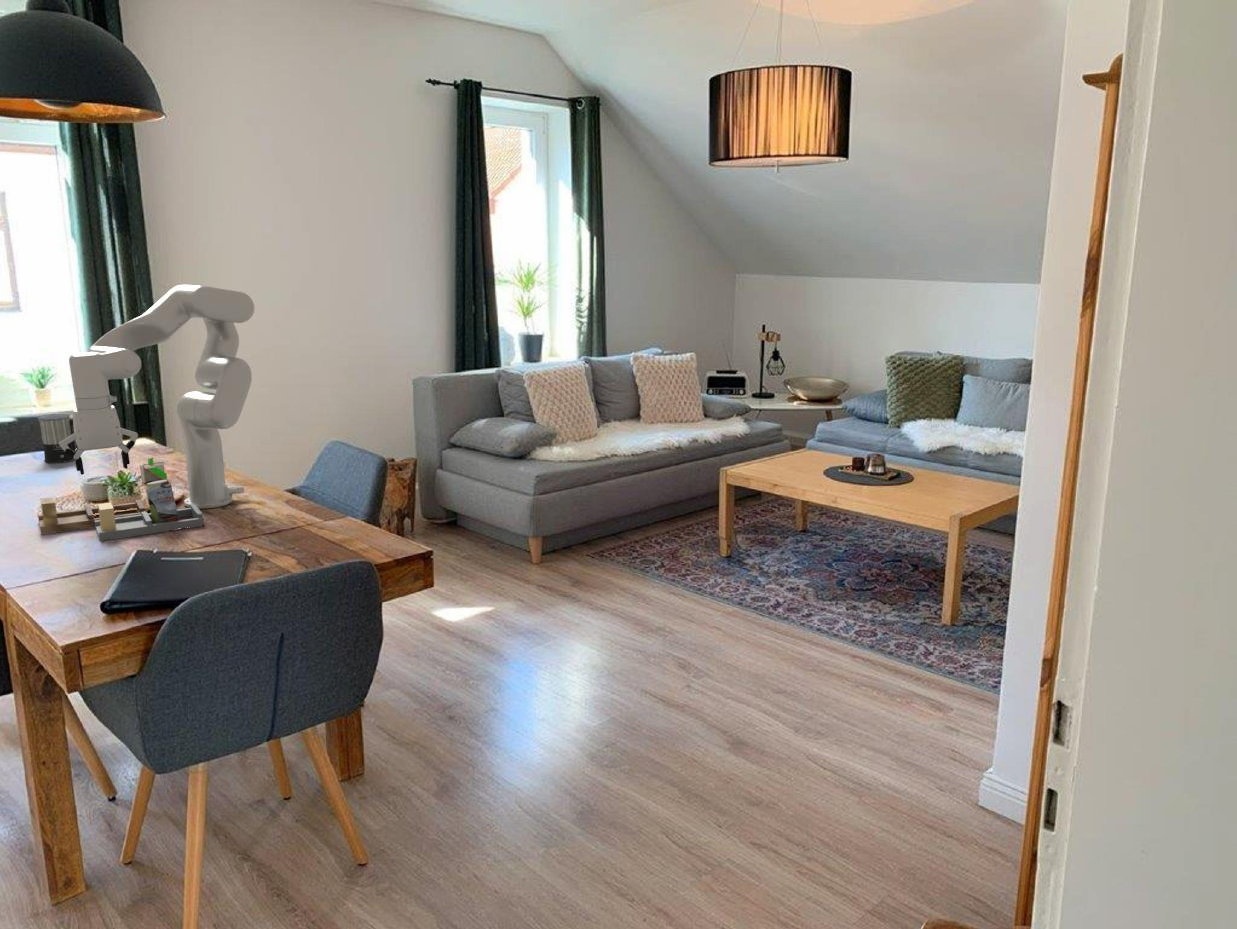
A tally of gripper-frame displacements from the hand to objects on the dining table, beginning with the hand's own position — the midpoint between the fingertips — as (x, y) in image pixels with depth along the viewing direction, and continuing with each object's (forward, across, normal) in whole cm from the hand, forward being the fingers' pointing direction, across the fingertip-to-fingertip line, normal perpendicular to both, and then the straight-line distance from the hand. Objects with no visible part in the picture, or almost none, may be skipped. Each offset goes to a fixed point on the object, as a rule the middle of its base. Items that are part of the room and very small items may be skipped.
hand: (104, 470), depth 237 cm
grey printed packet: (+17, -12, +1) cm, 20 cm away
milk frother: (+18, +6, -98) cm, 99 cm away
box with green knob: (+18, -16, -49) cm, 55 cm away
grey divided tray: (+16, -8, +1) cm, 18 cm away
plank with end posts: (+16, +4, -12) cm, 21 cm away
